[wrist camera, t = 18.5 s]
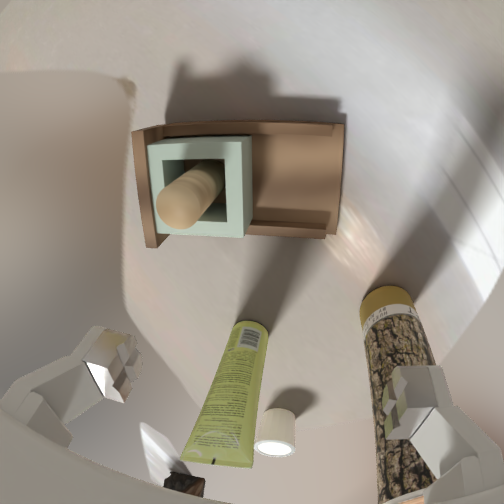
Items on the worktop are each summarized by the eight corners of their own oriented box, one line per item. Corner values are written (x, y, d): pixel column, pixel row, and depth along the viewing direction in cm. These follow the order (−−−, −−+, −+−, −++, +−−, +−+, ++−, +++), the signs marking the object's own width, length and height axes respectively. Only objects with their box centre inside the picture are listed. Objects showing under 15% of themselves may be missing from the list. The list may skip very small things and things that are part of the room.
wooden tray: (162, 124, 30) (131, 131, 24) (342, 123, 27) (352, 129, 21) (171, 222, 35) (146, 247, 29) (335, 230, 32) (340, 260, 27)
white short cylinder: (306, 419, 49) (303, 452, 43) (276, 429, 52) (272, 460, 46) (281, 401, 47) (276, 436, 41) (251, 413, 50) (244, 445, 44)
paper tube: (362, 331, 38) (378, 522, 16) (354, 290, 35) (377, 504, 13) (412, 319, 36) (457, 503, 14) (408, 276, 33) (476, 478, 11)
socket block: (169, 137, 29) (146, 145, 25) (251, 135, 28) (241, 141, 24) (176, 214, 33) (156, 233, 29) (252, 217, 32) (243, 237, 28)
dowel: (193, 159, 30) (153, 184, 22) (227, 159, 30) (198, 184, 22) (195, 193, 32) (158, 228, 24) (228, 194, 31) (201, 230, 24)
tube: (253, 354, 43) (222, 479, 26) (222, 336, 42) (178, 461, 25) (276, 331, 40) (252, 468, 23) (244, 312, 39) (202, 449, 22)
